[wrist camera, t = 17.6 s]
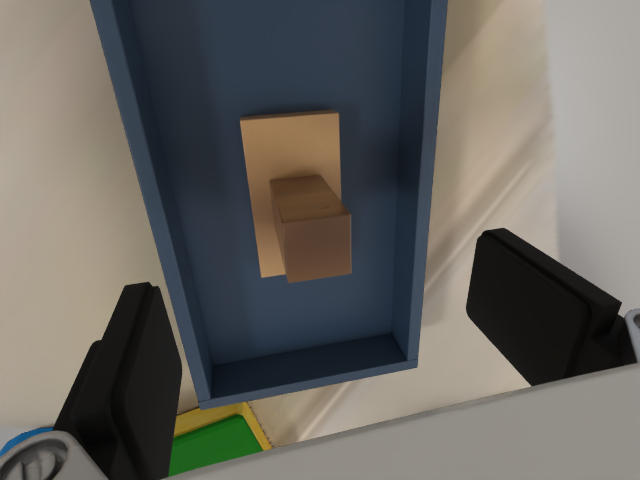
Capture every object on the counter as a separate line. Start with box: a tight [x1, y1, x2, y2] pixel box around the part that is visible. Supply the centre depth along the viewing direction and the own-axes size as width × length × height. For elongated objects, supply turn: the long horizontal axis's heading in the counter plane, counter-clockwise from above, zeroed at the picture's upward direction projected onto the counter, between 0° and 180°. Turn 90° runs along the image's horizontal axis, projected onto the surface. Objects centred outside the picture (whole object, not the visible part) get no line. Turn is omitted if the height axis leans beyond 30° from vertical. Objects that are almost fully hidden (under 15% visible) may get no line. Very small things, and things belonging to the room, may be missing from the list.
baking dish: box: [90, 0, 448, 410], centre depth 21 cm, size 26×15×4 cm, turn 3°
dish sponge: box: [168, 402, 272, 477], centre depth 30 cm, size 7×14×2 cm, turn 16°
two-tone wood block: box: [240, 110, 352, 283], centre depth 19 cm, size 9×5×8 cm, turn 3°
